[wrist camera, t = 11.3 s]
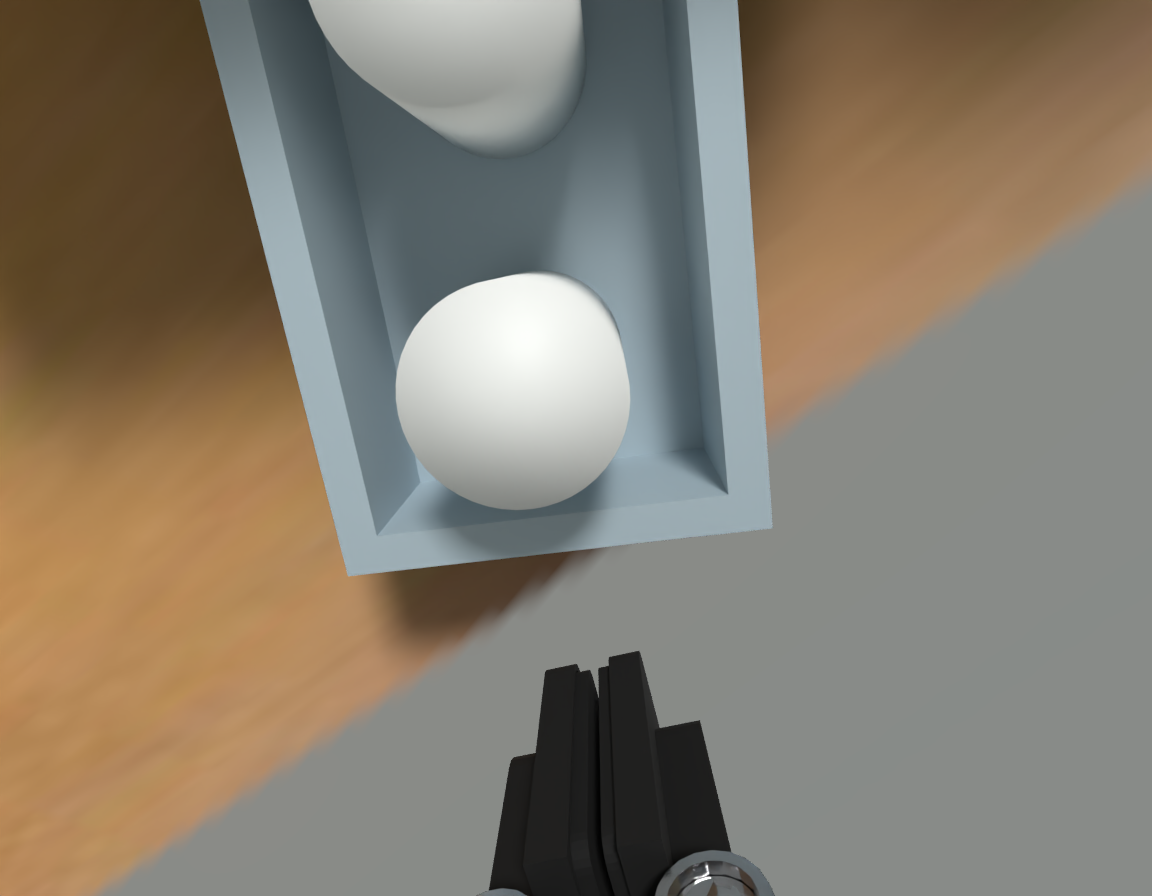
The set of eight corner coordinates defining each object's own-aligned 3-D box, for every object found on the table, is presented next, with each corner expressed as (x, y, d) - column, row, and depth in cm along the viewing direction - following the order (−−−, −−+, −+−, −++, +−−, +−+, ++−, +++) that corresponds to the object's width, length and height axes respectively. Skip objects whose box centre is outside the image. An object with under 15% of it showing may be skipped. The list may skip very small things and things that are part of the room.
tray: (679, -145, 11) (742, -478, 6) (729, 458, 13) (801, 575, 8) (285, -69, 11) (41, -316, 6) (410, 497, 14) (307, 627, 9)
